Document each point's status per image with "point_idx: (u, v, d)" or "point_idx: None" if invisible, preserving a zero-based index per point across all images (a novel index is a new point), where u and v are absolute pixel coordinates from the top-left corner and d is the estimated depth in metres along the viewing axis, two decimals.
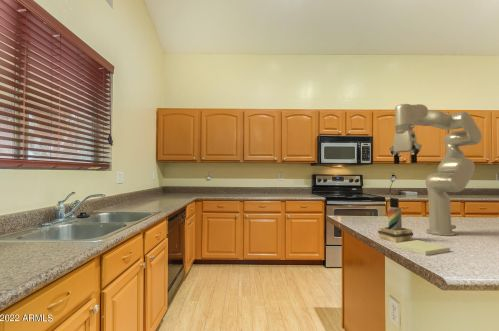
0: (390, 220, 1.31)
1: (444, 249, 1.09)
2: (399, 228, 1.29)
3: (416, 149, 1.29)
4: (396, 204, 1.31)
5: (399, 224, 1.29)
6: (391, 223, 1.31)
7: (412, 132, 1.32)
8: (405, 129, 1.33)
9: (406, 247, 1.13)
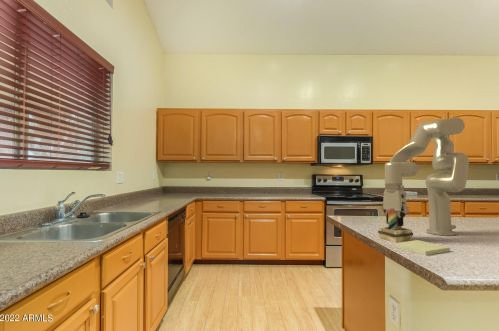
0: (390, 220, 1.31)
1: (444, 249, 1.09)
2: (399, 228, 1.29)
3: (402, 213, 1.27)
4: None
5: None
6: (391, 223, 1.31)
7: (402, 192, 1.28)
8: (394, 189, 1.29)
9: (406, 247, 1.13)
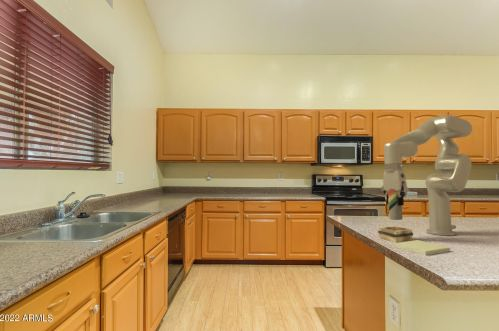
0: (390, 200, 1.32)
1: (444, 249, 1.09)
2: (399, 208, 1.30)
3: (402, 192, 1.27)
4: None
5: None
6: (391, 203, 1.31)
7: (401, 172, 1.29)
8: (394, 169, 1.30)
9: (406, 247, 1.13)
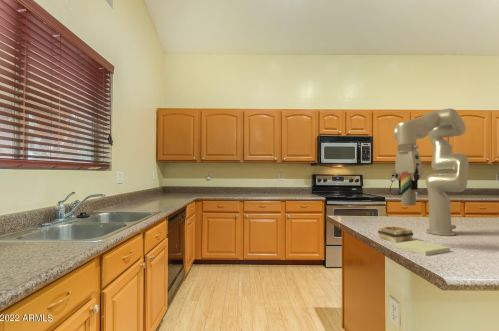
0: (403, 184, 1.21)
1: (444, 249, 1.09)
2: (413, 192, 1.19)
3: (416, 175, 1.17)
4: None
5: None
6: (404, 187, 1.21)
7: (416, 153, 1.18)
8: (408, 149, 1.19)
9: (406, 247, 1.13)
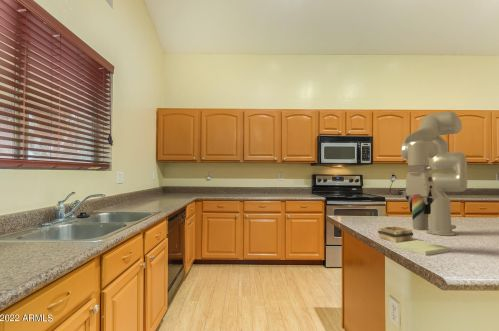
0: (415, 207, 1.14)
1: (444, 249, 1.09)
2: (425, 216, 1.12)
3: (430, 199, 1.10)
4: None
5: None
6: (416, 211, 1.13)
7: (429, 175, 1.11)
8: (420, 171, 1.12)
9: (406, 247, 1.13)
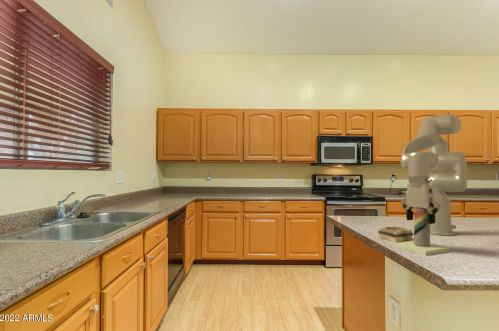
0: (417, 223, 1.14)
1: (444, 249, 1.09)
2: (427, 232, 1.12)
3: (435, 208, 1.08)
4: None
5: (428, 228, 1.12)
6: (418, 226, 1.13)
7: (429, 186, 1.11)
8: (421, 182, 1.12)
9: (406, 247, 1.13)
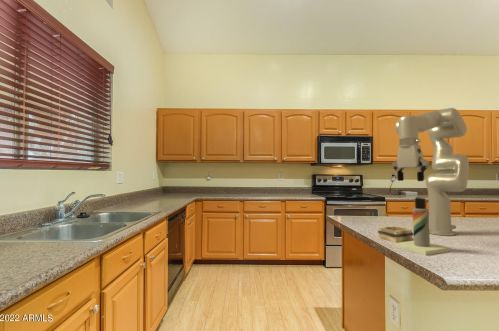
0: (416, 223, 1.14)
1: (444, 249, 1.09)
2: (427, 233, 1.12)
3: (423, 166, 1.17)
4: (423, 205, 1.13)
5: (427, 228, 1.12)
6: (417, 227, 1.13)
7: (418, 147, 1.20)
8: (410, 143, 1.20)
9: (406, 247, 1.13)
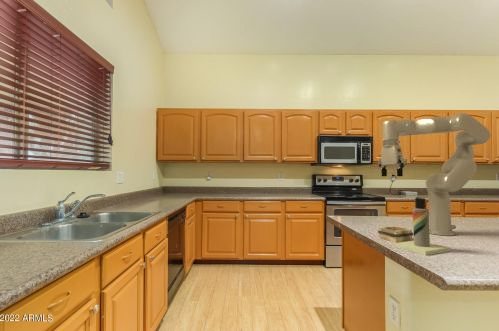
0: (416, 223, 1.14)
1: (444, 249, 1.09)
2: (427, 233, 1.12)
3: (401, 163, 1.36)
4: (423, 205, 1.13)
5: (427, 228, 1.12)
6: (417, 227, 1.13)
7: (398, 147, 1.40)
8: (391, 144, 1.40)
9: (406, 247, 1.13)
